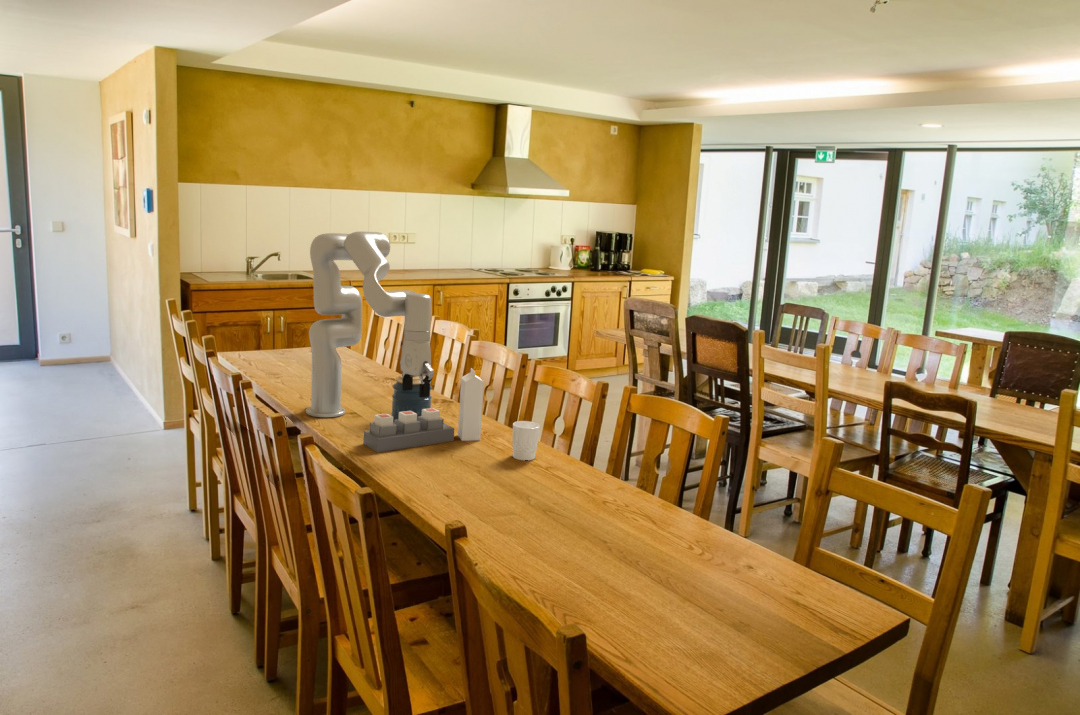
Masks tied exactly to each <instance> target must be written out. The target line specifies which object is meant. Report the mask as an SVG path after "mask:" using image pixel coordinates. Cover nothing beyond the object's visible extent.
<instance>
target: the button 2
mask: <svg viewBox="0 0 1080 715" xmlns="http://www.w3.org/2000/svg"><path fill="white" fill-rule="evenodd" d="M398 421H399V422H401V423H403V424H409V423H417V414H416V413H414V412H412V411H404V412H399V418H398Z"/></svg>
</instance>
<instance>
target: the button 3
mask: <svg viewBox="0 0 1080 715" xmlns="http://www.w3.org/2000/svg"><path fill="white" fill-rule="evenodd" d="M421 418H423V419H425V420H427V421H432V420H439V419H440V418H441V411H440V410H438V409H436V408H434V407H431V408H428V409H422V417H421Z"/></svg>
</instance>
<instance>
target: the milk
mask: <svg viewBox="0 0 1080 715" xmlns="http://www.w3.org/2000/svg"><path fill="white" fill-rule="evenodd" d="M484 384H485V382H484V380H482V379H481V377H480V376H478V375H476V371H475V370H474V368H472V367H470V372H468V373H467V374H465V375H463V376H462V377H460V393H459V410H458V427H457V436H458V437H459V438H460V441H462V442H463V441H465V442H466V441H469V442H470V441H471V442H472V441H481V436H482V435H481V434H482V433H481V432H482V419H483V418H482V417H483V401H484V388H485V387H484Z"/></svg>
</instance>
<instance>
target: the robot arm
mask: <svg viewBox="0 0 1080 715" xmlns="http://www.w3.org/2000/svg"><path fill="white" fill-rule="evenodd" d="M390 252H391V243H390V241H389V239H388V237H387V236H386V234H383V233H382V232H378V231H353V232H352V233H338V232H337V233H335V232H332V233H330V232H329V233H322V234H318V235H317V236H315V237H314V238H313V239H312V240H311V244H310V247H309V256H310V261H311V265H312V266H311V267H312V272H313V306H314V311H315V312H316V313H317V314H318V315H321V316H336V315H338V316H339V315H341V317H340V318H327V319H320V320H316V321H314V322H313V323H312V324H311V325H310V327H309V330H308V338H309V342H310V350H311V383H310V384H311V385H310V386H311V387H310V388H311V389H310V390H311V391H310V392H311V395H310V397H311V398H310V406H309V407H307V408H306V409H305V413H306V414H307V415H308V416H311V417H314V418H336V417H341V416H343V415H345V414H346V409H345V408H344V407H343V406H341V404H342V403H341V402H342V401H341V400H342V399H341V398H342V397H341V396H342V363H343V362H342V358H341V357H340V355H339V353H338V351H337V349H336V348H343V347H344V348H345V347H352V346H353V347H354V346H356V345H357V344H358V343H360V341H361V339H362V334H363V301H362V296H361V294H360V292H359V290H358V289H357V288H356V286H355V287H354V286H352V285H342V283H341V281H342V280H341V278H342V277H341V271H340V268H339V266H338V265H337V263H336V262H335V261H352V262H353V263H354V265H355V266H356V267H357V268H358V270H359V271H360V273H361V274H362V276H363V280H362V291H363V295H364V298H365V300H366V302H367V303H368V305H369V306H370V307H371V309H372V310H373V311H374V312H375V313H376V314H377V315H378V316H379V317H382V318H383V317H384V318H388V317H389V318H390V317H392V318H393V317H404V323H403V324H404V328H403V329H404V330H403V331H404V334H403V335H404V336H403V342H402V346H401V354H400V355H401V356H400V361H399V364H400V372H401V374H402V377H403V380H402V390H403V391H407V390H412V389H413V377H410V376H415V377H417V376H419V379H420V381H421V384H420V388H419V397H421V398H422V397H429V396H430V395H431V390H430V385H431V383H432V380H433V376H434V374H435V371H434V368H432V353H431V344H430V343H431V324H432V323H431V320H432V298H431V295H429V294H427V293H422V292H421V293H418V292H416V291H414V290H409V289H407V290H405V289H404V290H385V289H383V287H382V286H381V284H380V283H379V282H380V281H382V280H383V279H384V278H385V277H386V276H387V275H388V273H389V271H390V266H391V265H390V262H389V261H388V259H387V257H388V255H389V254H390ZM423 377H425V378H424V379H423Z"/></svg>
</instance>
